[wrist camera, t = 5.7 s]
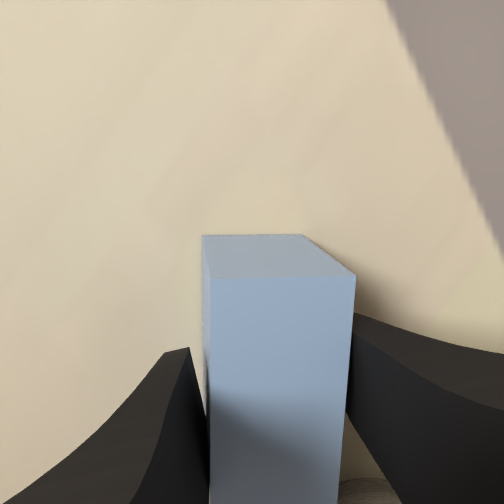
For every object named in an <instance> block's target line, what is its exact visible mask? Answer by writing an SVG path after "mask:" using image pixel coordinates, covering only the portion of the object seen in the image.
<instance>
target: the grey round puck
mask: <svg viewBox="0 0 504 504" xmlns="http://www.w3.org/2000/svg"><path fill="white" fill-rule="evenodd" d="M337 504H402V503H401V501H400V499H399V498H398V496H397V494H396V493H395V491H394V490H393V488H392V486H391V485H390V483H389V482H388V481H387V480H383V479H377V478H359V479H352V480H348V481H344V482H341V483H339V487H338V498H337Z"/></svg>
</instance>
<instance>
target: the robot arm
mask: <svg viewBox="0 0 504 504" xmlns="http://www.w3.org/2000/svg"><path fill="white" fill-rule="evenodd" d="M345 411H346V413H347V415H348V417H349V420H350V421H351V423H352V425H353V426H354V428H355V429H356V431H357V433H358V434H359V436H360V437H361V439H362V441H363V442H364V444H365V445H366V447H367V449H368V450H369V452H370V453H371V455H372V456H373V458H374V460H375V461H376V463H377V464H378V466H379V467H380V469H381V471H382V472H383V474H384V475H385V477H386V479H387V480H388V482H389V483H390V485H391V486H392V488H393V490H394V491H395V493H396V494H397V496H398V498H399V499H400V501H401V503H402V504H504V354H500V353H493V352H488V351H483V350H478V349H473V348H468V347H463V346H459V345H455V344H451V343H447V342H443V341H439V340H436V339H432V338H429V337H425V336H422V335H419V334H415V333H412V332H409V331H406V330H403V329H400V328H397V327H394V326H391V325H389V324H386V323H383V322H380V321H377V320H375V319H372V318H369V317H366V316H363V315H360V314H357V313H354V312H353V322H352V333H351V345H350V357H349V369H348V381H347V392H346V404H345ZM209 485H210V480H209V458H208V439H207V425H206V415H205V410H204V406H203V402H202V398H201V394H200V390H199V386H198V381H197V377H196V373H195V369H194V365H193V361H192V357H191V353H190V348H189V347H187V348H183V349H178V350H174V351H170V352H165V353H164V354H163V355H162V356H161V357H160V359H159V360H158V361H157V362H156V364H155V365H154V366H153V368H152V369H151V370H150V371H149V373H148V374H147V375H146V377H145V378H144V379H143V380H142V381H141V383H140V384H139V385H138V386H137V388H136V389H135V390H134V391H133V392H132V394H131V395H130V396H129V397H128V398H127V399H126V400H125V401H124V402H123V404H122V405H121V406H120V407H119V408H118V409H117V410H116V411H115V412H114V413H113V414H112V416H111V417H110V418H109V419H108V420H107V421H106V422H105V423H104V424H103V425H102V426H101V427H100V428H99V429H98V430H97V431H96V432H95V433H94V434H93V435H91V436H90V437H89V438H88V439H87V440H86V441H85V442H84V443H82V444H81V445H80V446H79V447H78V448H77V449H76V450H75V451H73V452H72V453H71V454H70V455H69V456H67V457H66V458H65V459H64V460H62V461H61V462H60V463H58V464H57V465H56V466H54V467H53V468H52V469H50V470H49V471H48V472H47V473H45V474H44V475H43V476H41V477H40V478H39V479H37V480H36V481H35V482H33V483H32V484H31V485H30V486H28V487H27V488H25V489H24V490H22V491H21V492H20V493H18V494H17V495H15V496H14V497H12V498H11V499H9V500H8V501H6V502H5V503H3V504H209Z"/></svg>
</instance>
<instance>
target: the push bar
mask: <svg viewBox="0 0 504 504" xmlns="http://www.w3.org/2000/svg"><path fill="white" fill-rule="evenodd" d="M355 286H356V275H355V274H353V273H352V272H351V271H349V270H348V269H347V268H345V267H344V266H343V265H341V264H340V263H339V262H337V261H336V260H335V259H333V258H332V257H331V256H329V255H328V254H327V253H326V252H324V251H323V250H322V249H320V248H319V247H318V246H316V245H315V244H314V243H312V242H311V241H310V240H308V239H307V238H306V237H304V236H303V235H202V313H203V406H204V410H205V415H206V425H207V439H208V458H209V480H210V485H209V504H337V498H338V487H339V475H340V463H341V451H342V439H343V428H344V416H345V404H346V392H347V381H348V369H349V357H350V345H351V333H352V322H353V310H354V298H355Z"/></svg>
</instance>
